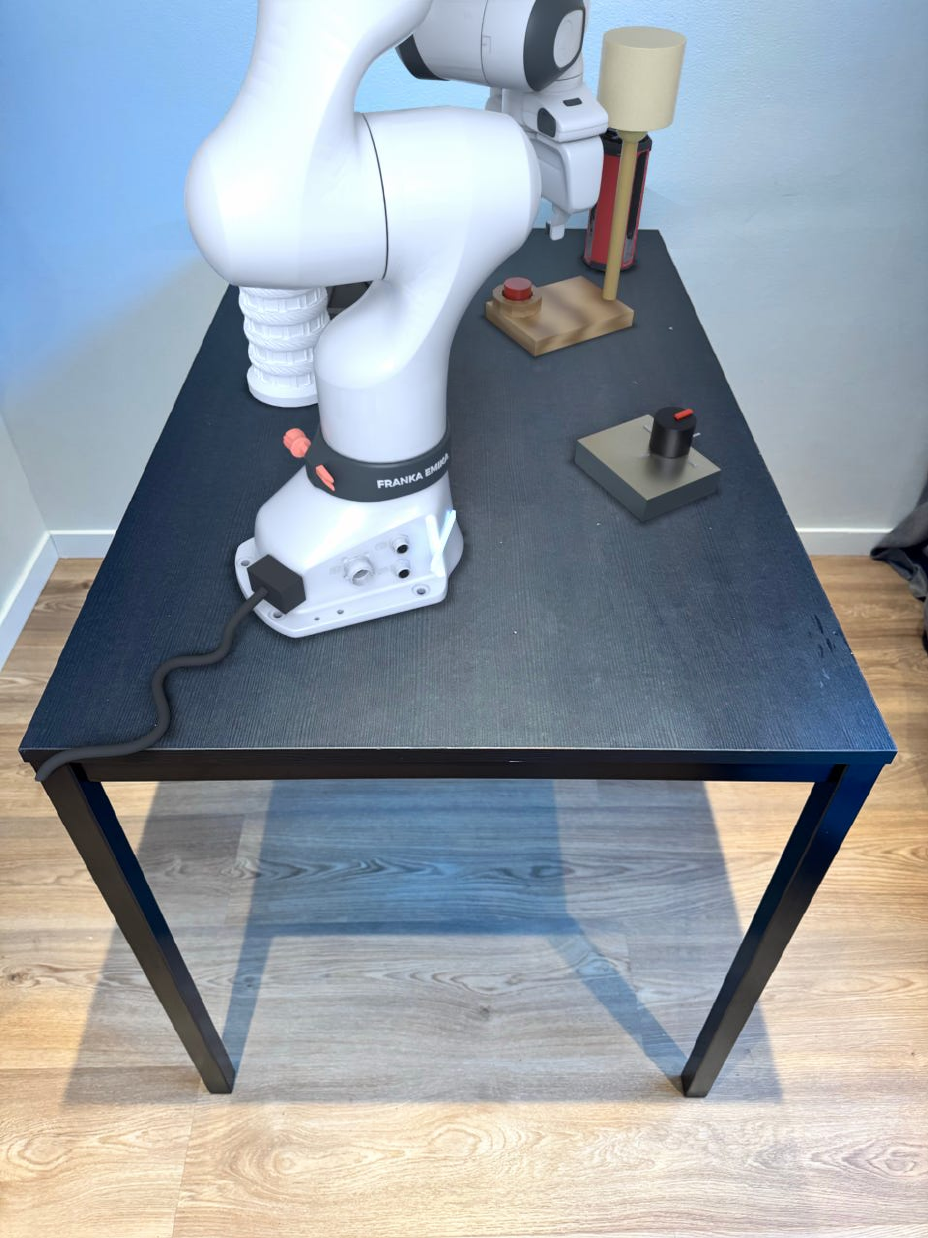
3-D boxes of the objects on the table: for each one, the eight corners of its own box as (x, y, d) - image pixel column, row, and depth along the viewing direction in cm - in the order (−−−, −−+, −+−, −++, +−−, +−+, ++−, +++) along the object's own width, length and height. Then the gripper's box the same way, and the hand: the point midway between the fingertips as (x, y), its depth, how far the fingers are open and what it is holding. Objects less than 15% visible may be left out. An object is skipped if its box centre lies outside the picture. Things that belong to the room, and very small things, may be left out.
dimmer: (642, 522, 91) (647, 498, 88) (574, 462, 98) (577, 438, 95) (731, 485, 95) (738, 461, 93) (659, 430, 102) (664, 406, 100)
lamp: (602, 319, 112) (638, 52, 91) (561, 291, 117) (586, 32, 96) (657, 302, 115) (704, 41, 94) (615, 275, 120) (650, 22, 99)
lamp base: (533, 357, 113) (535, 328, 110) (482, 316, 120) (483, 288, 117) (632, 325, 119) (636, 297, 116) (578, 289, 126) (581, 262, 123)
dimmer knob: (668, 462, 93) (674, 432, 90) (640, 442, 95) (646, 412, 93) (698, 449, 94) (706, 419, 92) (670, 429, 97) (677, 399, 94)
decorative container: (331, 410, 104) (313, 261, 91) (236, 403, 105) (205, 254, 92) (351, 360, 112) (338, 216, 99) (263, 353, 113) (238, 210, 100)
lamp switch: (513, 304, 115) (513, 292, 114) (498, 293, 117) (498, 280, 116) (535, 298, 117) (536, 285, 115) (520, 287, 119) (521, 274, 117)
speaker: (611, 279, 128) (629, 146, 115) (572, 261, 132) (585, 131, 119) (644, 263, 132) (665, 133, 119) (604, 246, 136) (621, 119, 123)
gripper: (469, 74, 103) (467, 196, 113) (570, 131, 91) (557, 261, 101) (515, 66, 105) (508, 186, 115) (618, 121, 93) (601, 249, 103)
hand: (532, 222), depth 108 cm, fingers open, 8 cm apart
